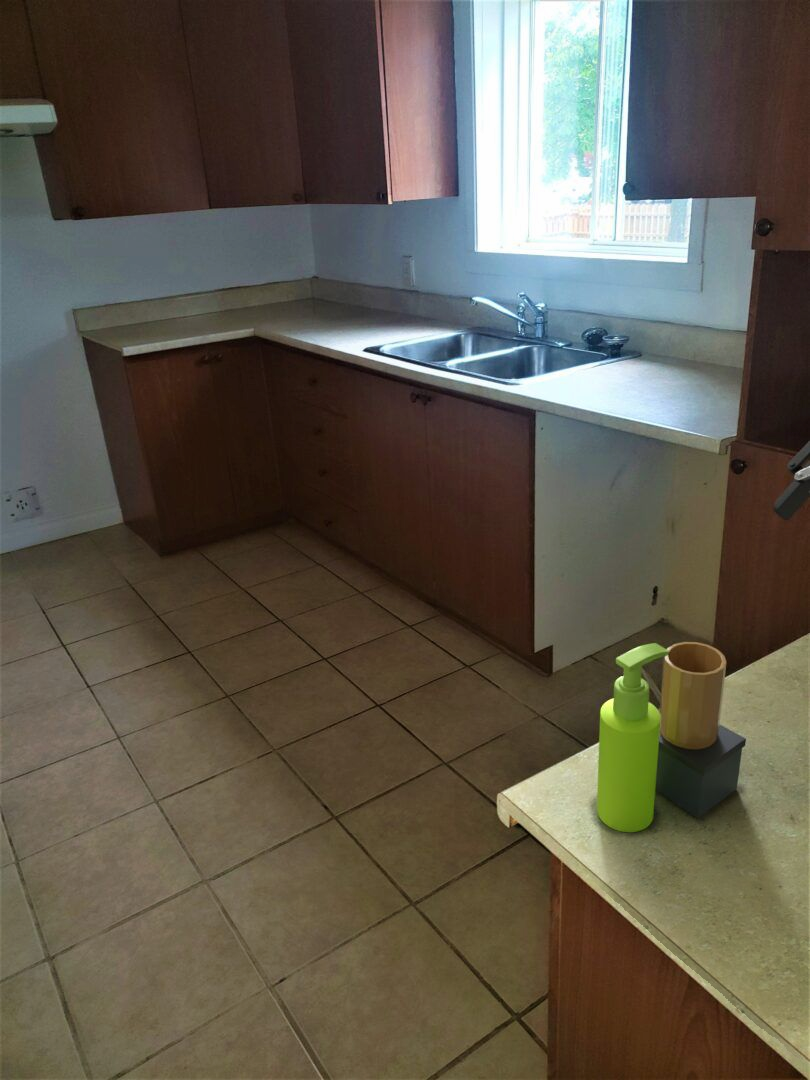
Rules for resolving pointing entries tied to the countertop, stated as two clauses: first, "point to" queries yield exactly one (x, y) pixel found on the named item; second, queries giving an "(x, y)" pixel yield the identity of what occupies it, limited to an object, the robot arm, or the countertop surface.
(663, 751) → the dark grey box
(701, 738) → the cup
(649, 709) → the soap dispenser
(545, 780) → the countertop surface
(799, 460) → the robot arm
